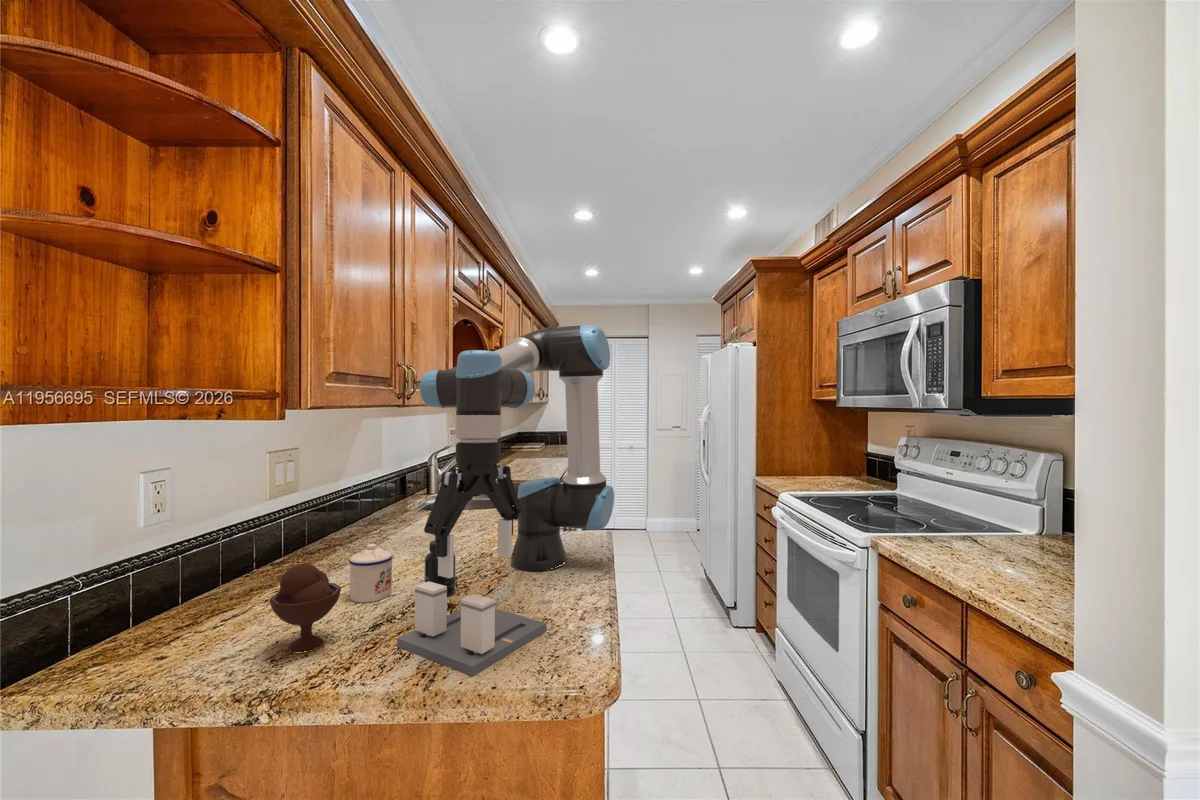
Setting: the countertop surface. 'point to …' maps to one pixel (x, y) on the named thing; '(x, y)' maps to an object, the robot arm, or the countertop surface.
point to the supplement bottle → (432, 571)
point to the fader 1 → (431, 608)
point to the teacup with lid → (370, 574)
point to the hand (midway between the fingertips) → (477, 565)
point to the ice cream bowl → (304, 602)
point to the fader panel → (449, 652)
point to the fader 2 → (477, 623)
